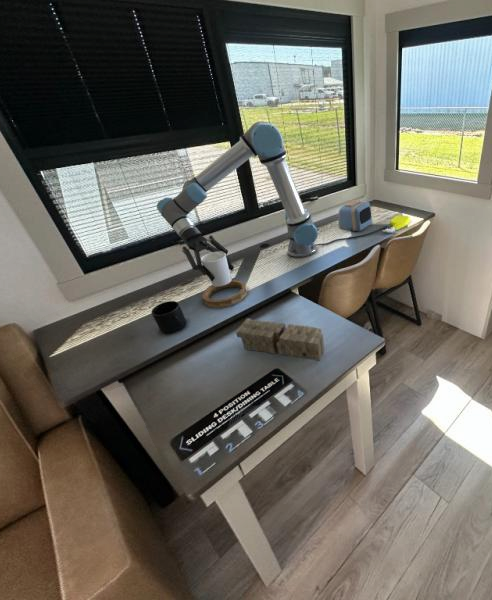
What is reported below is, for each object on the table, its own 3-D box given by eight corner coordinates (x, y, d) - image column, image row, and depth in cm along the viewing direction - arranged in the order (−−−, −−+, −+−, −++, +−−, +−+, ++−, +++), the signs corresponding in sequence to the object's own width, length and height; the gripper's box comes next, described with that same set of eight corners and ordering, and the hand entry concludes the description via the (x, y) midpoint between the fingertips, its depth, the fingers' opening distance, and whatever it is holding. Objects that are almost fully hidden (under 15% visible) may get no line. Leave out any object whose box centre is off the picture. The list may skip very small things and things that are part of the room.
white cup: (209, 279, 138) (200, 254, 131) (232, 274, 141) (224, 249, 134) (210, 290, 130) (200, 264, 123) (234, 283, 133) (226, 258, 126)
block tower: (327, 347, 109) (252, 334, 115) (325, 328, 104) (247, 316, 111) (319, 363, 102) (240, 348, 109) (317, 344, 98) (234, 330, 104)
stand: (245, 281, 149) (244, 276, 147) (248, 301, 134) (246, 295, 133) (205, 290, 144) (203, 285, 143) (204, 311, 130) (201, 305, 128)
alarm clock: (359, 233, 190) (358, 206, 181) (337, 228, 198) (335, 203, 189) (373, 224, 201) (372, 199, 192) (351, 220, 209) (350, 196, 200)
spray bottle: (411, 220, 201) (397, 235, 184) (395, 219, 206) (380, 233, 188) (411, 216, 199) (397, 230, 182) (395, 214, 204) (380, 228, 187)
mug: (173, 339, 116) (163, 320, 111) (156, 329, 122) (146, 311, 117) (196, 325, 122) (187, 306, 117) (178, 316, 128) (169, 298, 123)
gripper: (208, 228, 140) (241, 267, 141) (162, 246, 126) (198, 290, 127) (212, 218, 135) (246, 259, 136) (163, 236, 120) (202, 282, 121)
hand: (223, 274), depth 131 cm, fingers closed on white cup, 9 cm apart
